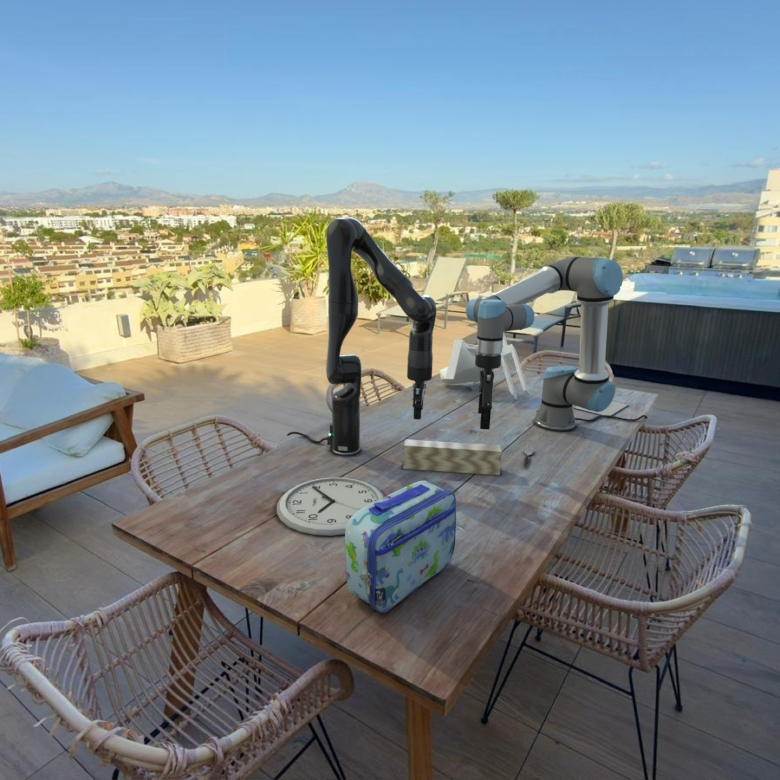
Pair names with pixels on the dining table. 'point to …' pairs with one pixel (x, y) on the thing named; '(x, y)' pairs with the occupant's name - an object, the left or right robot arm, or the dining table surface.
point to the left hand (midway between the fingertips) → (418, 414)
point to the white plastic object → (467, 371)
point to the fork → (527, 454)
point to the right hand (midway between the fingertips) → (483, 420)
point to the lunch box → (399, 543)
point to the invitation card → (608, 408)
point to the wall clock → (325, 504)
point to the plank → (452, 457)
